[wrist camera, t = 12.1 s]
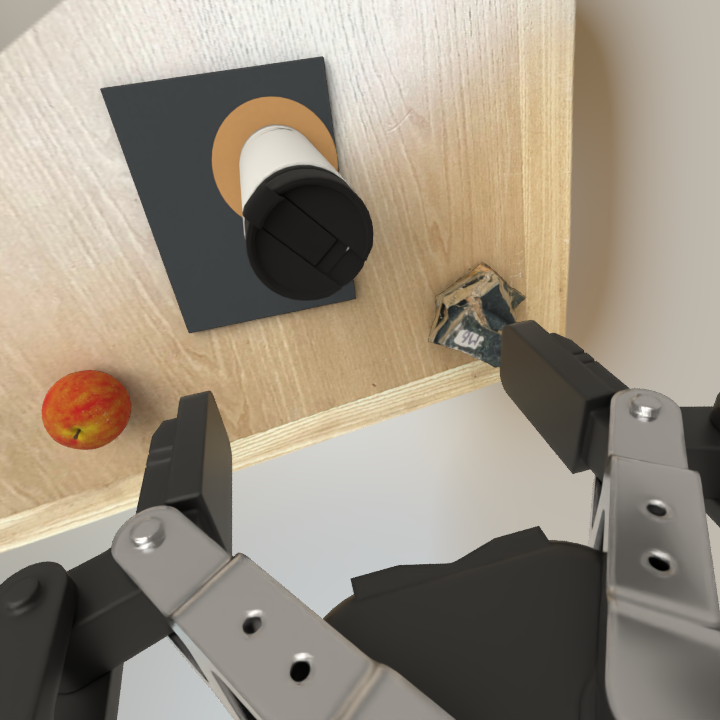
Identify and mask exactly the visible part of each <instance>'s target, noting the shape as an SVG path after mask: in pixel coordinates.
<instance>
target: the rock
mask: <svg viewBox="0 0 720 720" xmlns="http://www.w3.org/2000/svg"><path fill="white" fill-rule="evenodd" d="M524 299H526V297H525V296H524V295H522V294H521V293H520V292H518V291H517V290H515V289H513V288H511V287H510V286H508V285H507V283H506V281H505V280H504V279H503V278H502V277H500V276H499V274H497V273H496V272H495V271H494V270H492V269H491V268H490V267H489V266H488V265H487V264H485V263H481V264H479V265H478V266H477V267H476V268H475V269H474V270H472V271H471V272H470V273H469V274H467V275H465V276H464V277H462V278H460V279H458V280H457V282H456V283H455V284H453V285H452V286H451V287H449V288H448V289H447V290H446V291H444V292H442V293H441V294H439V295H437V296H436V301H435V302H436V318H435V321H434V323H433V325H432V328H431V331H430V334H429V337H430V338H429V339H428V342H431V343H435V344H439V345H443V346H445V347H447V348H452V349H455V350H459V351H462V352H464V353H466V354H469V355H471V356H472V357H474V358H477V359H479V360H481V361H484V362H486V363H488V364H490V365H492V366H493V367H495V368H496V367H500V361H501V342H502V330H503V328H504V326H506V325H510V324H514V323H516V315H515V311H514V309H515V308H516V306H518V305H519V304H520V303H521V301H523V300H524Z"/></svg>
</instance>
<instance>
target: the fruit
mask: <svg viewBox="0 0 720 720" xmlns="http://www.w3.org/2000/svg"><path fill="white" fill-rule="evenodd" d="M130 413H131V402H130V397H129V395H128V392H127V390H126V389H125V387H124V386H123V385H122V384H121V383H120V382H119V381H118V380H117V379H115V378H114V377H112V376H111V375H108V374H106V373H103V372H100V371H92V370H87V371H79V372H75V373H71V374H69V375H67V376H65V377H63V378H61V379H60V380H59V381H57V382H56V383H55V384H54V385H53V386H52V387H51V388H50V390H49V391H48V393H47V394H46V396H45V399H44V402H43V406H42V420H43V423H44V426H45V428H46V430H47V432H48V434H49V435H50V436H51V437H52V438H53V439H54V440H55V441H56V442H58V443H60V444H62V445H64V446H67V447H70V448H74V449H82V450H89V449H96V448H99V447H102V446H104V445H106V444H108V443H110V442H111V441H113V440H114V439H115V438H116V437H117V436H119V435H120V433H121V432H122V431H123V430H124V428H125V427H126V425H127V422H128V420H129V417H130Z"/></svg>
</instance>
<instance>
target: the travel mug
mask: <svg viewBox="0 0 720 720" xmlns="http://www.w3.org/2000/svg"><path fill="white" fill-rule="evenodd" d="M239 169H240V184H241V198H242V214H243V227H244V236H245V239H246V251H247V256H248V259H249V263H250V266H251V267H252V269H253V271H254V273H255V275H256V276H257V277H258V279H259V280H260V281H261V282H262V283H263V284H264V285H265V286H266V287H267V288H269V289H270V290H271V291H273V292H275V293H276V294H278V295H280V296H282V297H286V298H289V299H293V300H300V301H312V300H319V299H323V298H327V297H329V296H331V295H333V294H334V293H336V292H337V291H339V290H341V289H342V286H345V285H347V284H349V283H350V282H351V281H352V280H353V279H354V278H355V277H356V276H357V274H358V273H359V272H360V270H361V269H362V268H363V265H364V262H365V261H366V260H367V258H368V255H369V253H370V251H371V248H372V246H373V226H372V221H371V218H370V215H369V211H368V210H367V208H366V206H365V204H364V203H363V201H362V200H361V199H360V198H359V197H358V195H357V194H356V193H355V192H354V190H353V189H352V187H351V186H350V185H349V184H348V183H347V182H346V181H345V179H344V178H343V177H342V176H341V175H340V174H339V173H338V172H337V171H336V170H335V169H334V167H333V166H332V165H331V164H330V163H329V162H328V161H327V160H326V159H325V158H324V157H323V155H322V154H321V153H320V152H319V151H318V150H317V149H316V148H315V147H314V146H313V145H312V144H311V142H310V141H309V140H308V139H307V138H306V137H305V136H304V135H303V134H302V133H300V132H299V131H298V130H296V129H294V128H292V127H289V126H285V125H278V124H273V125H268V126H264V127H262V128H260V129H258V130H256V131H255V132H254V133H252V134H251V135H250V137H249V138H248V139H247V140H246V142H245V143H244V145H243V147H242V150H241V153H240V159H239Z"/></svg>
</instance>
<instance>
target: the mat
mask: <svg viewBox="0 0 720 720" xmlns="http://www.w3.org/2000/svg"><path fill="white" fill-rule="evenodd" d="M100 90H101V93H102V95H103V98H104V101H105V104H106V106H107V109H108V112H109V115H110V117H111V120H112V123H113V126H114V128H115V131H116V134H117V137H118V139H119V142H120V145H121V148H122V150H123V153H124V156H125V159H126V161H127V164H128V167H129V170H130V172H131V175H132V178H133V181H134V183H135V186H136V189H137V192H138V194H139V197H140V200H141V203H142V206H143V208H144V211H145V214H146V217H147V219H148V222H149V225H150V228H151V230H152V233H153V236H154V239H155V241H156V244H157V247H158V250H159V252H160V255H161V258H162V261H163V263H164V266H165V269H166V272H167V274H168V277H169V280H170V283H171V285H172V288H173V291H174V294H175V296H176V299H177V302H178V305H179V307H180V310H181V313H182V316H183V318H184V321H185V324H186V327H187V329H188V332H189V333H193V332H198V331H203V330H208V329H213V328H217V327H222V326H227V325H232V324H237V323H241V322H246V321H251V320H256V319H261V318H265V317H270V316H275V315H280V314H285V313H290V312H294V311H299V310H304V309H309V308H314V307H318V306H323V305H328V304H333V303H338V302H342V301H347V300H352V299H356V295H355V287H354V280H352V281H351V282H350V283H349V284H347V285H345V286H342V289H341V290H339V291H337V292H336V293H334V294H333V295H331V296H329V297H327V298H323V299H319V300H312V301H300V300H293V299H289V298H286V297H282V296H280V295H278V294H276V293H275V292H273V291H271V290H270V289H269V288H267V287H266V286H265V285H264V284H263V283H262V282H261V281H260V280H259V279H258V277H257V276H256V275H255V273H254V271H253V269H252V267H251V266H250V263H249V259H248V256H247V251H246V239H245V236H244V227H243V214H242V198H241V184H240V169H239V159H240V153H241V150H242V147H243V145H244V143H245V142H246V140H247V139H248V138H249V137H250V135H251V134H252V133H254V132H255V131H256V130H258V129H260V128H262V127H264V126H268V125H273V124H278V125H285V126H289V127H292V128H294V129H296V130H298V131H299V132H300V133H302V134H303V135H304V136H305V137H306V138H307V139H308V140H309V141H310V142H311V144H312V145H313V146H314V147H315V148H316V149H317V150H318V151H319V152H320V153H321V154H322V155H323V157H324V158H325V159H326V160H327V161H328V162H329V163H330V164H331V165H332V166H333V167H334V169H335V170H336V171H337V172H338V173H339V169H338V161H337V153H336V146H335V139H334V132H333V124H332V117H331V109H330V102H329V95H328V87H327V80H326V72H325V65H324V58H323V57H315V58H308V59H301V60H294V61H287V62H280V63H273V64H266V65H260V66H253V67H246V68H239V69H232V70H225V71H218V72H211V73H204V74H197V75H190V76H183V77H176V78H169V79H162V80H155V81H148V82H142V83H135V84H128V85H121V86H114V87H107V88H101V89H100Z"/></svg>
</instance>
